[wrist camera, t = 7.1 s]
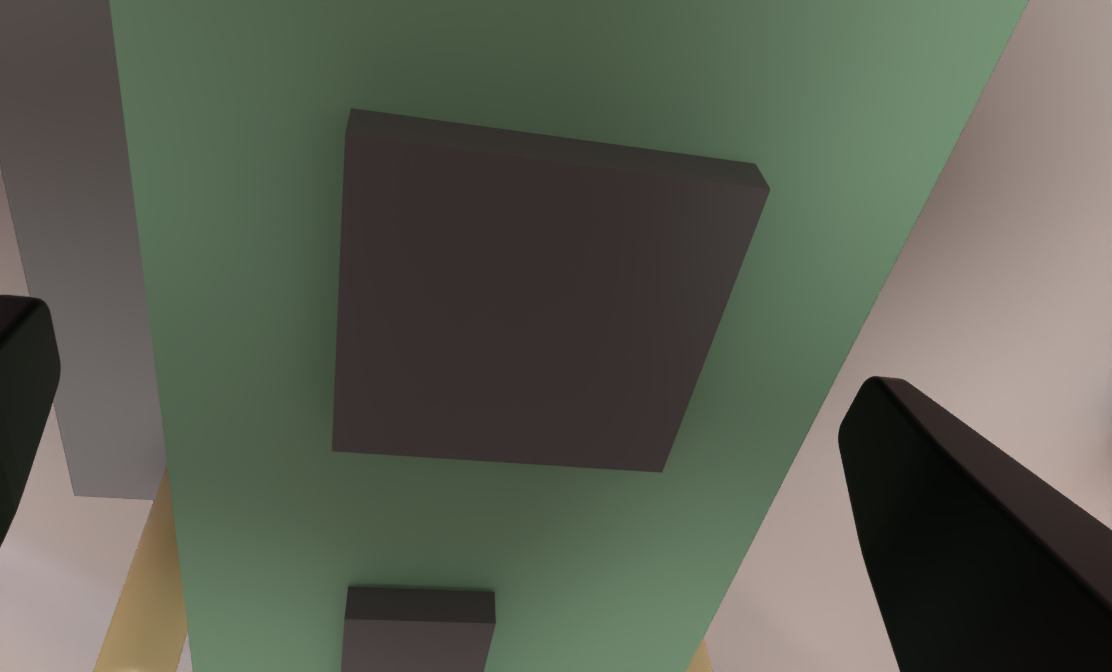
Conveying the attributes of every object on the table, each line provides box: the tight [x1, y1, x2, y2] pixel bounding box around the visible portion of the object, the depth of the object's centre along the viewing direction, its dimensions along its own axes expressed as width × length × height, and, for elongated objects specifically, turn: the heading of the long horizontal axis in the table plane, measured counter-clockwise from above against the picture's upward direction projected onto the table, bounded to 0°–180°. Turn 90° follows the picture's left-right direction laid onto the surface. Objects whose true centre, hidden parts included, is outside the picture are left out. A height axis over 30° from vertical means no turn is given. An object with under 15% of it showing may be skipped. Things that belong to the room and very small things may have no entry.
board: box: [109, 0, 1029, 672], centre depth 10 cm, size 12×6×4 cm, turn 169°
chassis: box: [0, 0, 712, 672], centre depth 12 cm, size 17×14×6 cm
